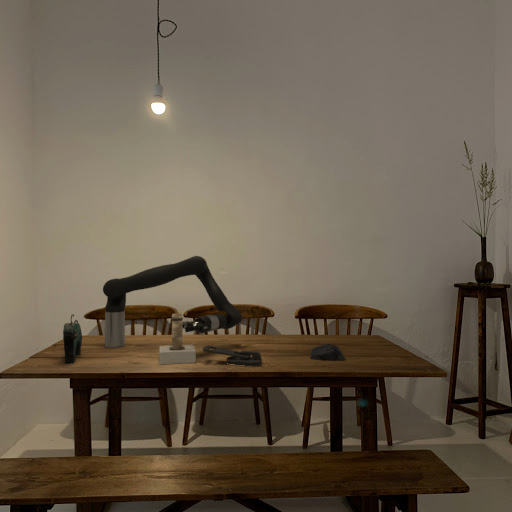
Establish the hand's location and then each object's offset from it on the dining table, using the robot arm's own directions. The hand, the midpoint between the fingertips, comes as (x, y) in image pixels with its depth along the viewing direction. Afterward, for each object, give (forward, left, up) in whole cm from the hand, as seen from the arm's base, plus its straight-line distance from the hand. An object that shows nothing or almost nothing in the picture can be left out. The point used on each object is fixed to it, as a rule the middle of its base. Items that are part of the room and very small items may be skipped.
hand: (179, 328), depth 206 cm
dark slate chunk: (+67, -4, -14) cm, 68 cm away
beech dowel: (-1, -1, -14) cm, 14 cm away
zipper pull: (+22, -11, -14) cm, 28 cm away
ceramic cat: (-46, +10, -14) cm, 49 cm away
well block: (-1, -1, -14) cm, 14 cm away
